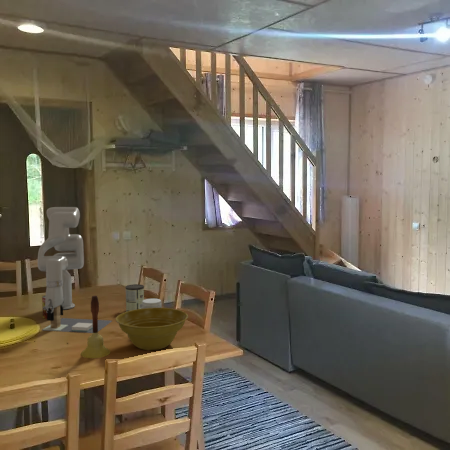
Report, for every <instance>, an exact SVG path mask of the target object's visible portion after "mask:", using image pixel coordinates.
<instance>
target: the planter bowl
mask: <svg viewBox="0 0 450 450" xmlns="http://www.w3.org/2000/svg"><path fill="white" fill-rule="evenodd" d="M188 318H189V315H188V313H187V312H185V311H183V310H181V309H176V308H171V307H162V308H143V309H136V310H131V311H127V312H126V311H125V312H121V313H120V314H118V315H117V316H116V317H115V322H116V323H117V324H118V326H119V327H120V330H121V331H122V332H123V333H125V334H127V336H128V338H129V340H130V341H131V343H132V344H133V346H135V347H137V348H138V349H141V350H145V351H156V350H161V349H164V348H166V347H167V348H168V346H169V345H171V344H172V343H173V341H174V339H175V337H176V335H177V333H178V332H179V331H180V330H181V329H182V328H183V327H184V325H185V324H186V323H185V322H186V320H188Z"/></svg>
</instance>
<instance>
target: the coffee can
mask: <svg viewBox="0 0 450 450" xmlns="http://www.w3.org/2000/svg"><path fill="white" fill-rule="evenodd" d="M144 288H145V285H144V284H135V283H134V284H128V285H125V308H126V309H125V312H127V311H131V310H136V309H142V301H143V300H145V289H144Z"/></svg>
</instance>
